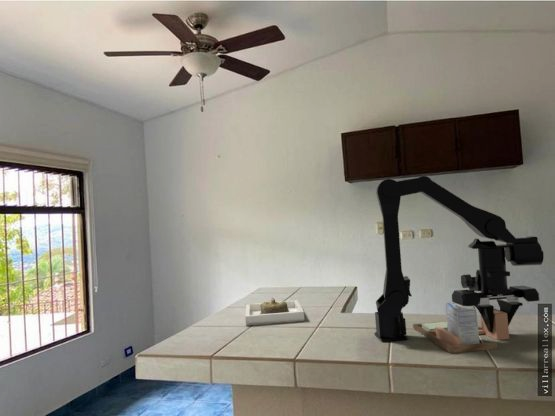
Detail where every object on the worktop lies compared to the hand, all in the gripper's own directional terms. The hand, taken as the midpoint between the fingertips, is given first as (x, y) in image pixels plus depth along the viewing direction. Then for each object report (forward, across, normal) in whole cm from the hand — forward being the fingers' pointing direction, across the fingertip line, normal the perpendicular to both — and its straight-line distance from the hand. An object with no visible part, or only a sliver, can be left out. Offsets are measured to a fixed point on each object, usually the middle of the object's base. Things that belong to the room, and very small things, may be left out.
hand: (497, 331), depth 95 cm
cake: (+1, +52, -39) cm, 65 cm away
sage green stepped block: (+1, +8, -8) cm, 12 cm away
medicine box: (+2, +10, +2) cm, 10 cm away
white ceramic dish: (+2, +52, -38) cm, 65 cm away
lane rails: (+1, +10, -2) cm, 10 cm away
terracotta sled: (+1, +6, +1) cm, 6 cm away
